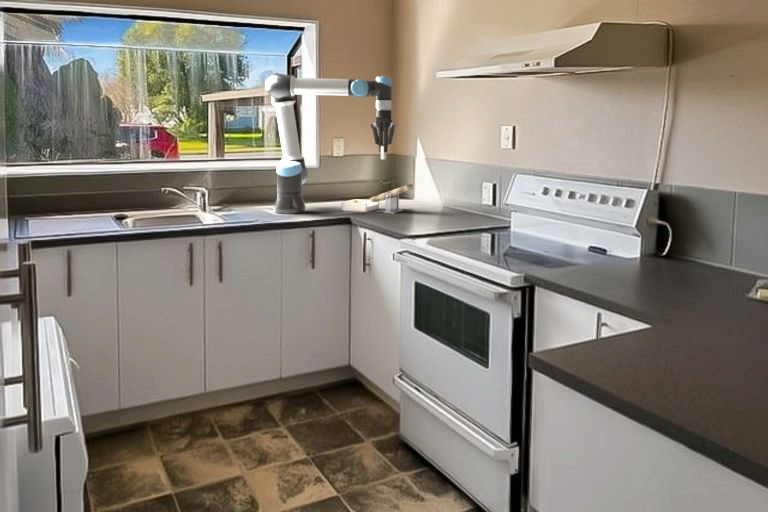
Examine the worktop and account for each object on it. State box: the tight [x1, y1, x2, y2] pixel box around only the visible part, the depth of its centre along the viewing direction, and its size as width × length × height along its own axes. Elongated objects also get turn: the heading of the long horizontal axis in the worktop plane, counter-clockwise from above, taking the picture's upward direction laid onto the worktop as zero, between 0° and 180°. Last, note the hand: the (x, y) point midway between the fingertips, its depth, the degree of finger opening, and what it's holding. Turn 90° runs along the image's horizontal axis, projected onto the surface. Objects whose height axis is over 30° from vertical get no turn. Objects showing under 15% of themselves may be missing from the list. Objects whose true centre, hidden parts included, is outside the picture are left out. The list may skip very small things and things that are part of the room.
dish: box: [341, 198, 380, 213], centre depth 361 cm, size 13×14×4 cm
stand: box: [381, 192, 403, 214], centre depth 354 cm, size 6×11×9 cm, turn 156°
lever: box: [369, 183, 414, 203], centre depth 356 cm, size 20×14×2 cm
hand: (383, 159), depth 360 cm, fingers closed
